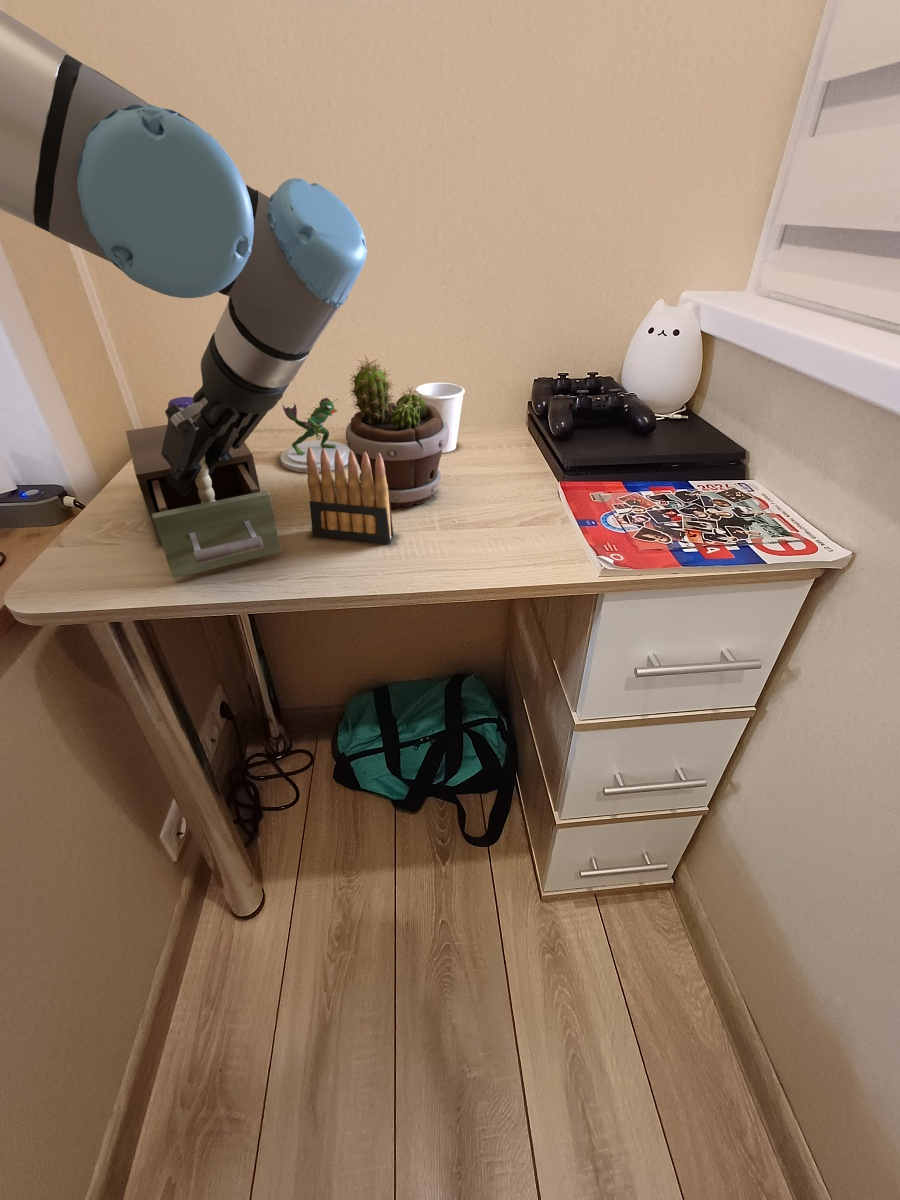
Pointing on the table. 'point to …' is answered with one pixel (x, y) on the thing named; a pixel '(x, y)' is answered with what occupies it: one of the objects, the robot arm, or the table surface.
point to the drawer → (215, 522)
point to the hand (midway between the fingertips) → (184, 483)
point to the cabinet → (153, 464)
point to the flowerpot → (397, 437)
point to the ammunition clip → (349, 500)
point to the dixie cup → (445, 406)
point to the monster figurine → (297, 453)
